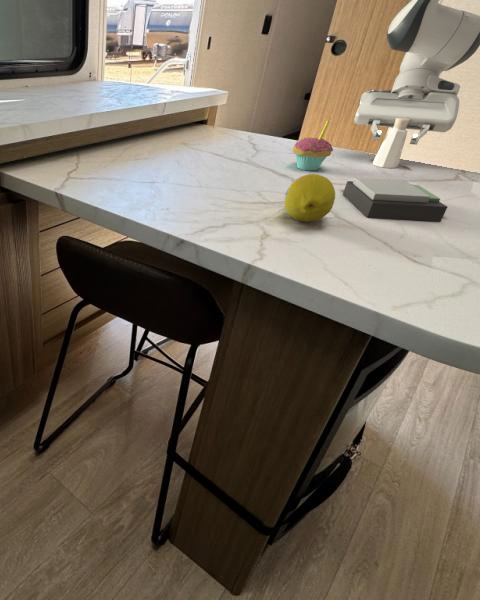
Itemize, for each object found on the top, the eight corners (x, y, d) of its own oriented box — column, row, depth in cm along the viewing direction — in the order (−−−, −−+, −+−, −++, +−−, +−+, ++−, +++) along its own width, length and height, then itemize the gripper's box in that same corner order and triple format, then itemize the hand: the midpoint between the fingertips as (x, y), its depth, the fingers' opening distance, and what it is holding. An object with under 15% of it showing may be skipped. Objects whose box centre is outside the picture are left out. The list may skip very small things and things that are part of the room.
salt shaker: (399, 165, 105) (418, 118, 99) (395, 169, 101) (415, 121, 95) (374, 161, 108) (391, 115, 102) (370, 165, 104) (387, 118, 98)
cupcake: (333, 169, 101) (350, 116, 95) (313, 175, 97) (330, 120, 91) (300, 161, 107) (314, 111, 101) (280, 166, 103) (294, 115, 97)
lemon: (285, 207, 80) (297, 165, 76) (330, 215, 76) (345, 171, 72) (272, 225, 72) (284, 180, 68) (321, 235, 69) (337, 188, 64)
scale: (405, 197, 84) (414, 178, 82) (440, 221, 74) (451, 200, 71) (342, 194, 86) (349, 175, 84) (367, 217, 75) (375, 196, 73)
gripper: (366, 80, 104) (348, 128, 103) (469, 85, 95) (451, 137, 93) (361, 98, 110) (344, 143, 108) (458, 104, 100) (440, 154, 99)
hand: (394, 140), depth 101 cm, fingers open, 6 cm apart
